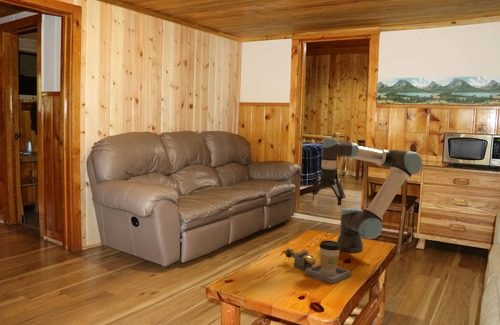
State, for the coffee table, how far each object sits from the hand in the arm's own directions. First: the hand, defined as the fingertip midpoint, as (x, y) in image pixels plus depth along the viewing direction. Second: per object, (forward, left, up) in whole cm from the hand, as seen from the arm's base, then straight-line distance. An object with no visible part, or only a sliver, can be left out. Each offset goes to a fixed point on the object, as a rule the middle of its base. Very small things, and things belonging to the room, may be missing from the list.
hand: (326, 209), depth 210 cm
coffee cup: (+17, +15, -26) cm, 35 cm away
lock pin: (+18, -1, -24) cm, 30 cm away
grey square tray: (+17, +15, -27) cm, 35 cm away
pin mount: (+18, +1, -27) cm, 32 cm away
